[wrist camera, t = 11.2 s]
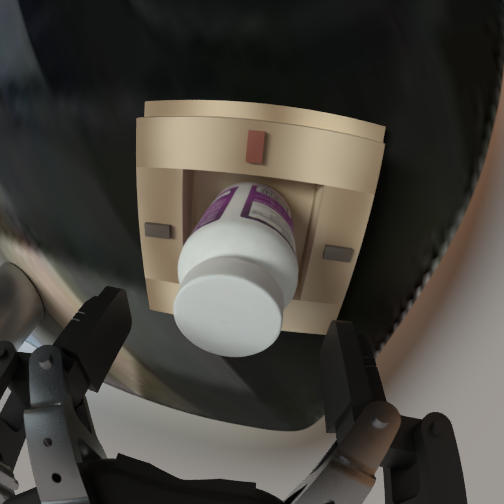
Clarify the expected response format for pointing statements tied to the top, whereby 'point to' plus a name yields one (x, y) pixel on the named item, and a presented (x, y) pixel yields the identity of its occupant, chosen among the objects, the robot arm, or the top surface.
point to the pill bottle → (237, 272)
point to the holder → (265, 172)
